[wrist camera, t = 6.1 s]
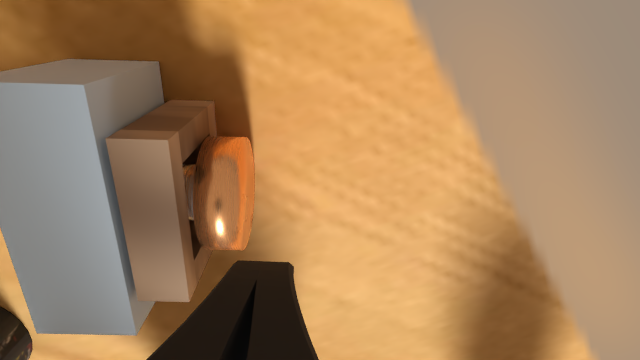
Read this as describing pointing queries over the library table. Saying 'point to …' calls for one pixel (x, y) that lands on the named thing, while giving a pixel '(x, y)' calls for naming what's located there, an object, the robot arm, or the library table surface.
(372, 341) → the library table surface
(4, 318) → the deodorant
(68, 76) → the bearing block
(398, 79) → the library table surface
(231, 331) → the robot arm
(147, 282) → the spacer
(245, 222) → the shaft
